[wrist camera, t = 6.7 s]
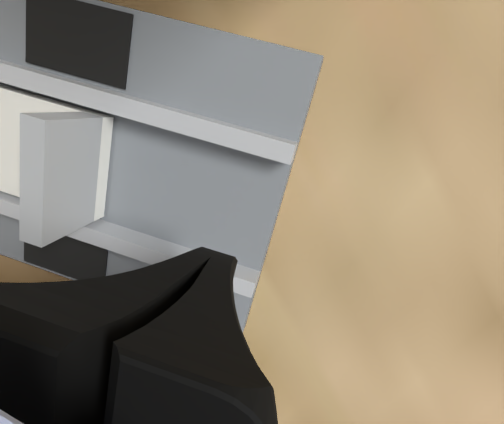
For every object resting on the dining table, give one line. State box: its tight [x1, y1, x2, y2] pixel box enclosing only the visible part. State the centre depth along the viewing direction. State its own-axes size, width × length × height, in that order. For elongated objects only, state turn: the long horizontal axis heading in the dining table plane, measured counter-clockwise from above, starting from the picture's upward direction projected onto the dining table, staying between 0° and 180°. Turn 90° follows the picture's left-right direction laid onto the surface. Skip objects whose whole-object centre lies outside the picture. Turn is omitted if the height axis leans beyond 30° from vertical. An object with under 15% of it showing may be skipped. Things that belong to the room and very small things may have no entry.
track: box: [0, 0, 323, 333], centre depth 17 cm, size 14×27×2 cm, turn 76°
